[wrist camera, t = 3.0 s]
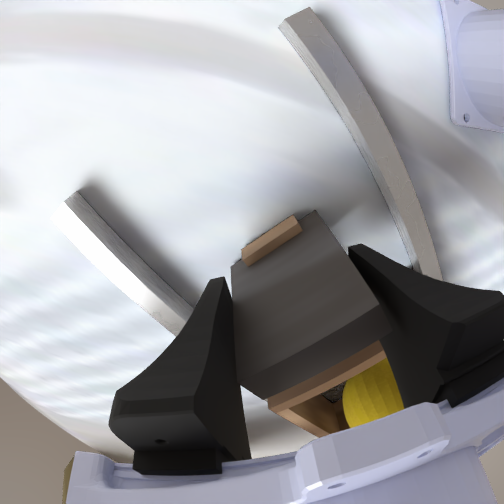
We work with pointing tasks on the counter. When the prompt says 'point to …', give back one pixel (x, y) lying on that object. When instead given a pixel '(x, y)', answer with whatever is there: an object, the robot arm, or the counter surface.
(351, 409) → the lemon
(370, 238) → the counter surface
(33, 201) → the counter surface
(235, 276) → the wooden tray
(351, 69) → the lane rails
